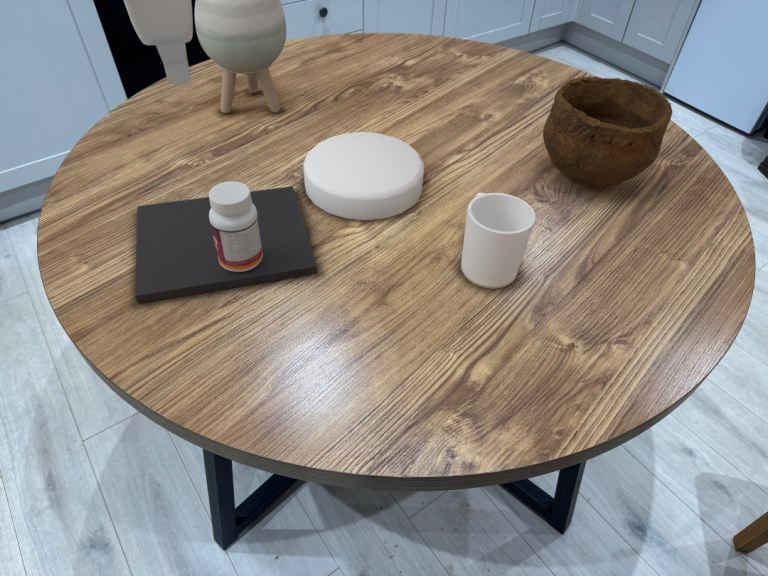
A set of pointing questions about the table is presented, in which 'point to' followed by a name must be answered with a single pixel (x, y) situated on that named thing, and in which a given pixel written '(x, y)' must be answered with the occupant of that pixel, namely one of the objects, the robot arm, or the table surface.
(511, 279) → the mug
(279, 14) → the planter
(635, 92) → the bowl
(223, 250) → the pill bottle
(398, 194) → the container
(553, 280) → the table surface
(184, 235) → the board
